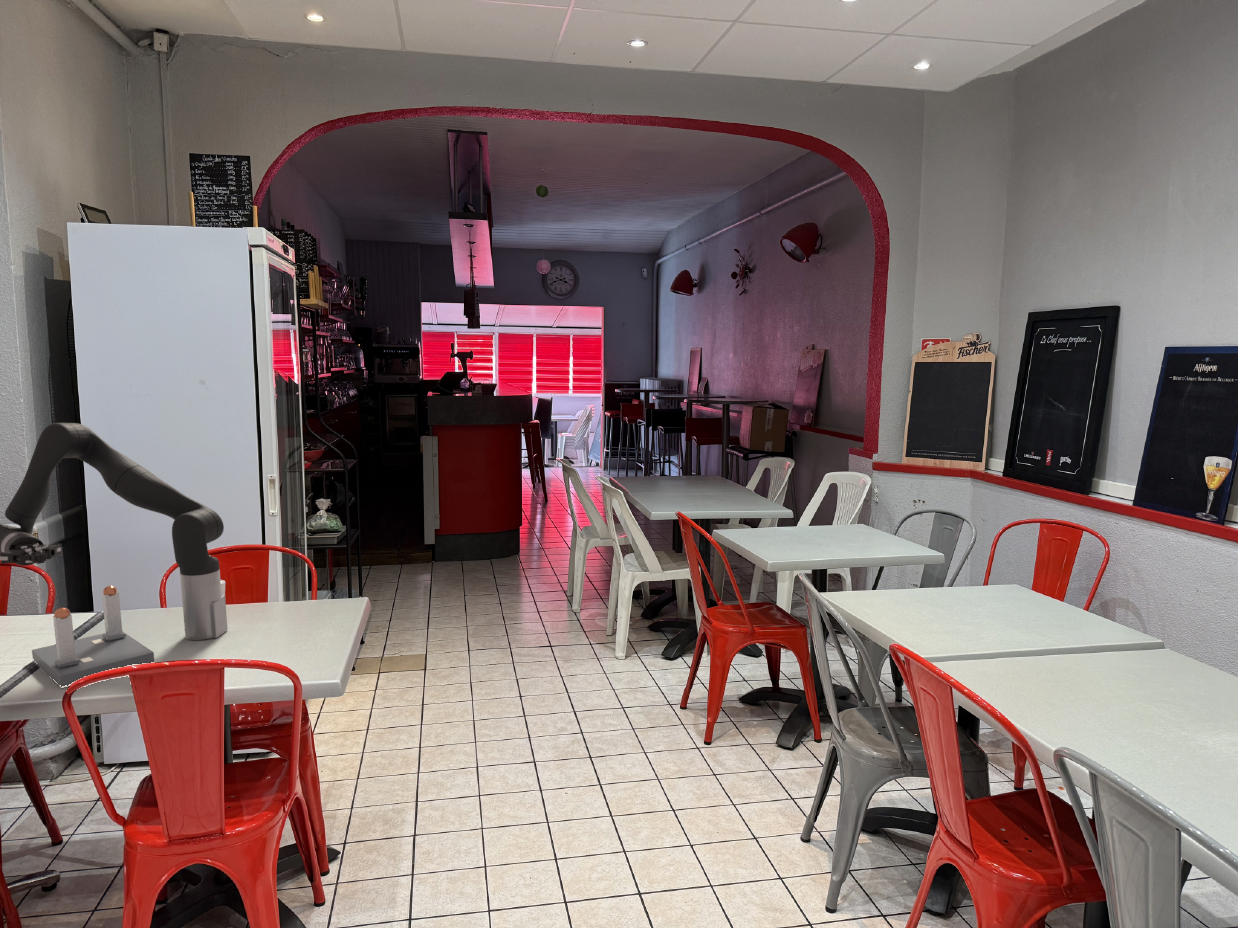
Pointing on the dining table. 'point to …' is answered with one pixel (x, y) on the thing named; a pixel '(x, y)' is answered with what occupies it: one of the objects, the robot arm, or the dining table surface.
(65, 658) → the lever edge
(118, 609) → the lever inner
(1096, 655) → the dining table surface
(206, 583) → the robot arm
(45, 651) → the switch box
